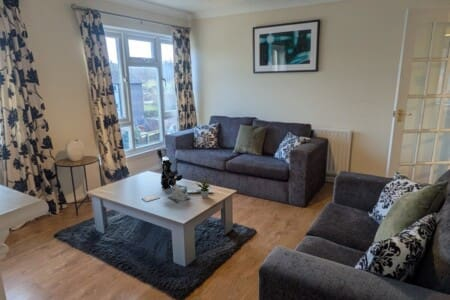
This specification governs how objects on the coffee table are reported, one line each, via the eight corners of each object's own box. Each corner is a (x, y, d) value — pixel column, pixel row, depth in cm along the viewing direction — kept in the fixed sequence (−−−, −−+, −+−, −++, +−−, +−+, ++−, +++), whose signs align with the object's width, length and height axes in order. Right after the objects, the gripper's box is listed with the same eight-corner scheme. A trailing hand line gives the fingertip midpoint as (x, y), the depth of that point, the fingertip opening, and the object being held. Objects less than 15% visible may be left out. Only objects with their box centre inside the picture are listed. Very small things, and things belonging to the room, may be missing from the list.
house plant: (207, 191, 255) (206, 173, 251) (217, 196, 245) (217, 177, 241) (193, 196, 246) (193, 177, 242) (203, 201, 236) (203, 182, 232)
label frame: (181, 193, 252) (181, 193, 252) (190, 198, 241) (190, 198, 241) (167, 197, 244) (167, 197, 244) (176, 203, 233) (176, 202, 233)
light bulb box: (187, 197, 243) (187, 185, 239) (183, 201, 237) (183, 189, 233) (176, 195, 246) (175, 183, 242) (172, 198, 240) (171, 187, 236)
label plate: (155, 194, 250) (154, 194, 249) (159, 198, 243) (159, 197, 243) (141, 198, 242) (141, 197, 242) (146, 202, 236) (146, 201, 235)
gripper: (161, 169, 238) (168, 186, 232) (181, 165, 249) (188, 181, 244) (157, 176, 246) (164, 192, 240) (177, 172, 257) (184, 187, 251)
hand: (175, 188), depth 244 cm, fingers closed, pressing on light bulb box
